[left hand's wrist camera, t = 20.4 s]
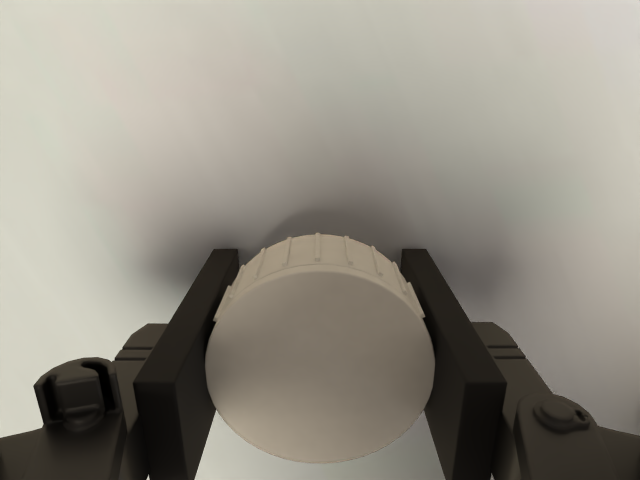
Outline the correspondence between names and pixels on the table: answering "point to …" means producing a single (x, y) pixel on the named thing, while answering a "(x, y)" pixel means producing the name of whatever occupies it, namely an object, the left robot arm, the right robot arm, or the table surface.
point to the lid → (319, 351)
